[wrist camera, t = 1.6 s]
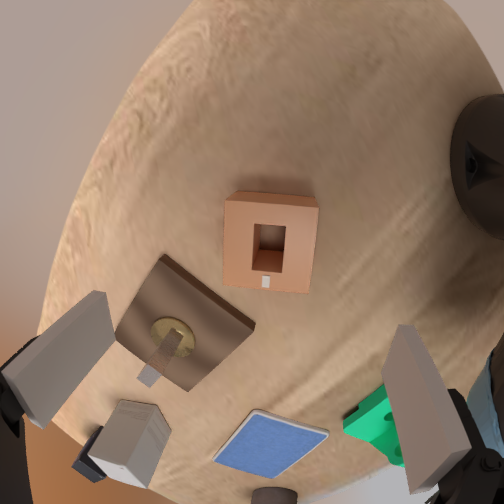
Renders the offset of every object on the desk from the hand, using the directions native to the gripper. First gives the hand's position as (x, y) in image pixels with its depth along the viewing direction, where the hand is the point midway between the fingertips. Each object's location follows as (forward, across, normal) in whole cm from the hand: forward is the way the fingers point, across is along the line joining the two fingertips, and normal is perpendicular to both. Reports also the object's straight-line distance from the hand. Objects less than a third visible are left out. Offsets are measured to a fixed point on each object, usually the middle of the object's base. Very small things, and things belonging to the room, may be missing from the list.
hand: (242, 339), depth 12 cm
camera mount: (+17, -18, +22) cm, 33 cm away
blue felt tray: (+17, -2, +36) cm, 39 cm away
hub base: (+16, +10, +12) cm, 23 cm away
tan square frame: (+16, 0, 0) cm, 16 cm away
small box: (+17, +31, +48) cm, 59 cm away
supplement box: (+17, +18, +32) cm, 41 cm away
